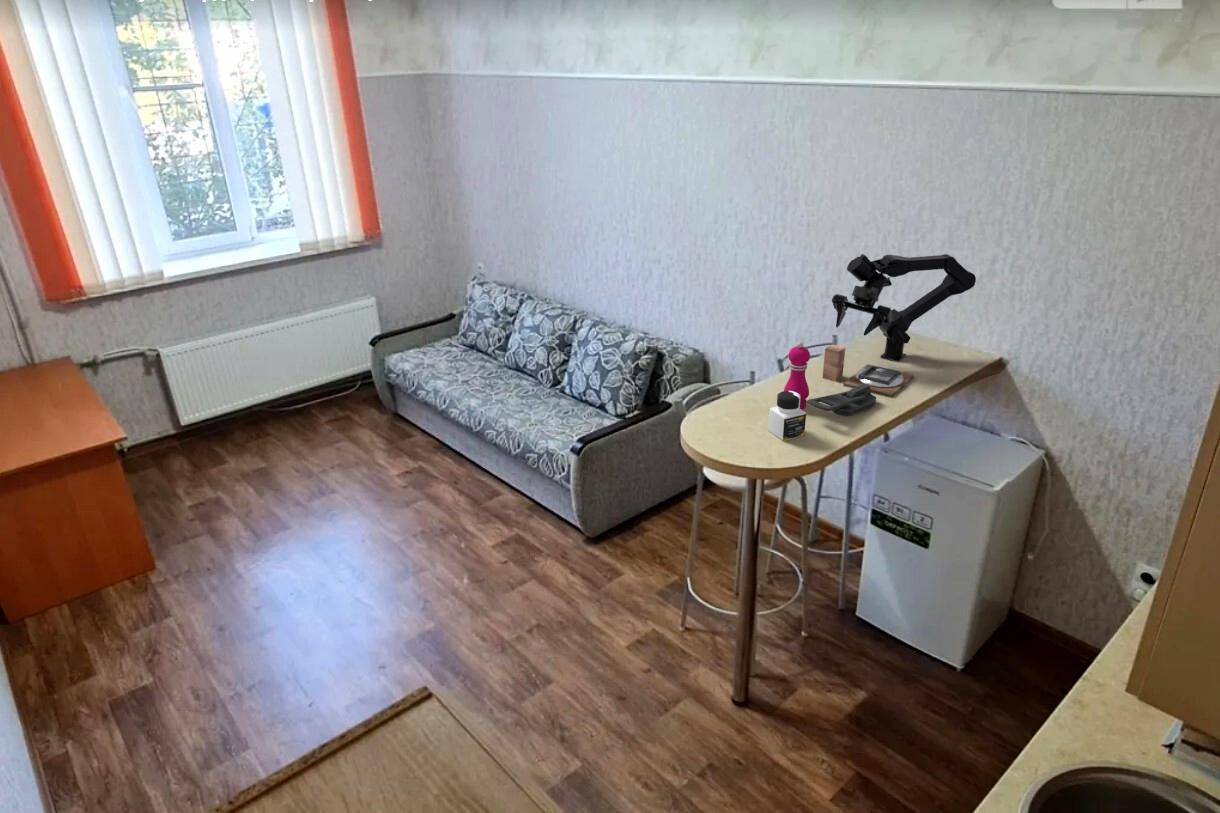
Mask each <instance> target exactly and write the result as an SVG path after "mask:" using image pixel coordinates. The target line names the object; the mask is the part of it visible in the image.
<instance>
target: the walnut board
mask: <svg viewBox="0 0 1220 813" xmlns="http://www.w3.org/2000/svg"><path fill="white" fill-rule="evenodd" d="M870 365H871V364H866V365H865V366H864V367H862V368H861V369H865V368H868V367H869V366H870ZM886 369H888V368H886ZM898 371H899V372H901V375H902V376H903V383H902V384H901V385H899V386H897V387H893V388H876V387H870V388H871V394H873V395H874V394H875V395H878V396H879V395H880V396H883V397H887V398H893V397H894V396H895V395H896V394H897V393H898V392H899V391H900V390H902V389H903V388H904V387H905V386H906V385H907V384H909V382H910V381H912V380H913V379H914V377H915V375H914V374H913V373H908V372H905V371H904V372H903V371H900V370H898ZM859 385H862V383H860V382H859V381H857V379H856V373H855V374H853V375H852V376H850V377H849V379H847V380H845V382H843V387H846V388H847V387H848V388H850V389H853V388H855V387H857V386H859Z"/></svg>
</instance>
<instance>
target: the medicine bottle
mask: <svg viewBox="0 0 1220 813" xmlns="http://www.w3.org/2000/svg"><path fill="white" fill-rule="evenodd" d="M768 414H769V415H768V432H770V433H771V434H772V433H773V434H772V435H774V436H776V437H777V438H778V439H779V440H781V441H782V442H785V441H789V440H793V439H796V438H801V437H804V436H805V435H806V434H805V432H806V420H807V412H806V411H804V409H802V410H801V409H800V395H799V394H798V393H796V392H793V391H784V390H783V391H780V392H779V393H778V394H777V398H776V406H773V407H770V408H769V413H768Z"/></svg>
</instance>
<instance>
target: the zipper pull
mask: <svg viewBox="0 0 1220 813" xmlns="http://www.w3.org/2000/svg"><path fill="white" fill-rule="evenodd" d="M806 401H807V404H808V405H809V406H811V407H813V408H816V409H819V410H822V411H824V412H828V413H829V412H832V413H833V414H834V415H837V416H839V417H840V416H841V417H849V418H850V417H853V416H856V415H857V414H860V413H863V412H866V411H868V410H871V409H873V408H875V405H876V403H877V402H876V401H877V397H876V396H875V395H874V394H873V393H871V388H870V386H868V385H865V384H862V385H859V386H857V387H855V388H850V389H849V390H846V391H843V392H839V393H834V394H830V395H826V396H821V397H814V398H811V399H806ZM807 404H806V405H807Z"/></svg>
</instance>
